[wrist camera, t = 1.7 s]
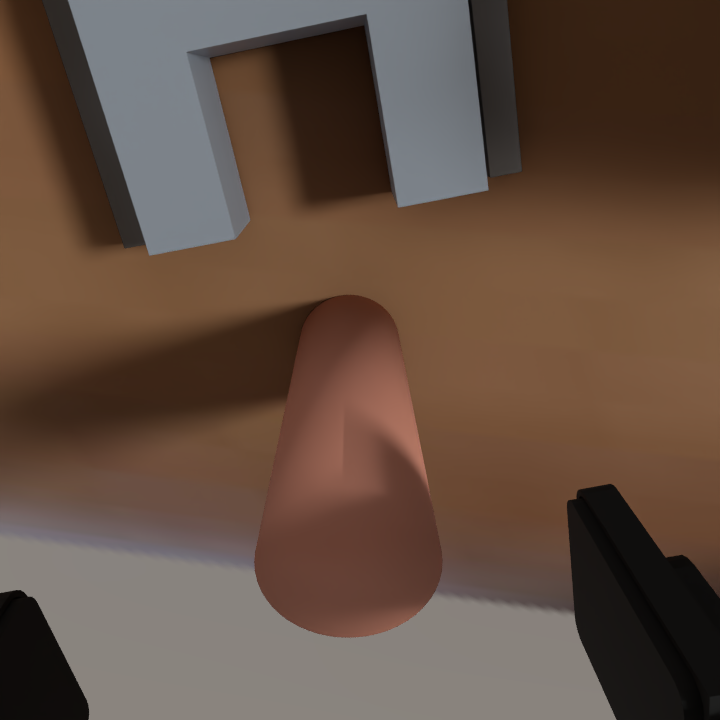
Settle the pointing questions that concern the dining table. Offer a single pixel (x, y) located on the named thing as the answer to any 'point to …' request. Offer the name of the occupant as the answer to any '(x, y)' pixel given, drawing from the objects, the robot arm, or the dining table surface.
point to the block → (205, 115)
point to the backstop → (490, 74)
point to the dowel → (348, 483)
